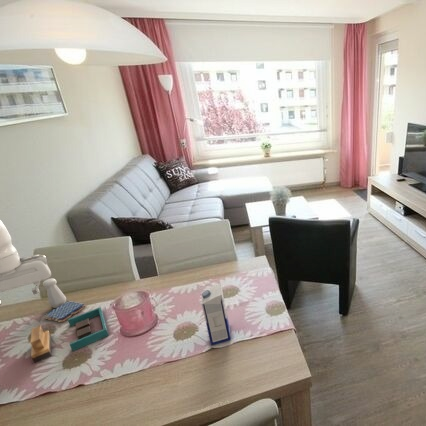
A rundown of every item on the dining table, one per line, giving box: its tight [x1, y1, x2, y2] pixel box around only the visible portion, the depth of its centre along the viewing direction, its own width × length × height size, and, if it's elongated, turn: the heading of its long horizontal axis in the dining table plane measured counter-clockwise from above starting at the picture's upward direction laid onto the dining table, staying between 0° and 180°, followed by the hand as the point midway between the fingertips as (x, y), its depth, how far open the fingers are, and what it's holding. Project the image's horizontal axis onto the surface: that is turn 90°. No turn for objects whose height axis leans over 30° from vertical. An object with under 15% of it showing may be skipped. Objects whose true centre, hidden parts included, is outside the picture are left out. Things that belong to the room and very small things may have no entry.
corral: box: [67, 306, 109, 352], centre depth 113 cm, size 11×18×3 cm, turn 41°
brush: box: [30, 325, 52, 363], centre depth 104 cm, size 4×12×7 cm, turn 41°
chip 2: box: [76, 326, 93, 340], centre depth 110 cm, size 4×4×2 cm
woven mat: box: [43, 300, 86, 323], centre depth 123 cm, size 10×11×2 cm
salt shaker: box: [42, 277, 67, 309], centre depth 126 cm, size 6×6×13 cm
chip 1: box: [75, 319, 92, 332], centre depth 114 cm, size 4×4×2 cm
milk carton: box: [201, 283, 232, 346], centre depth 104 cm, size 7×7×20 cm
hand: (18, 298), depth 100 cm, fingers open, 8 cm apart
